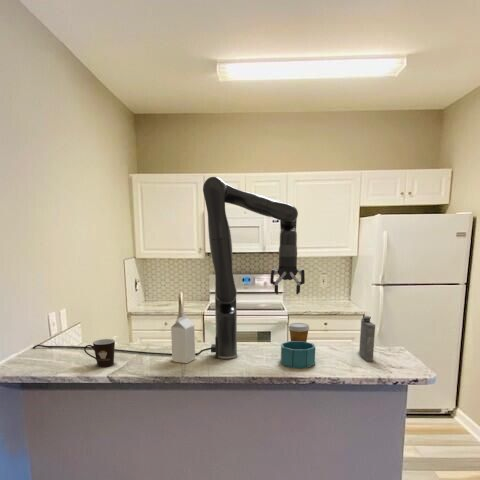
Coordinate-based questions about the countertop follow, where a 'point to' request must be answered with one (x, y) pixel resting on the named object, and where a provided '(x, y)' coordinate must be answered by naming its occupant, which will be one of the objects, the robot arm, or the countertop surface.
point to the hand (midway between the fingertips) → (287, 294)
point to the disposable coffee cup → (298, 331)
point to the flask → (367, 339)
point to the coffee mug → (103, 352)
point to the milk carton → (183, 340)
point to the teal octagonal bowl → (297, 354)
